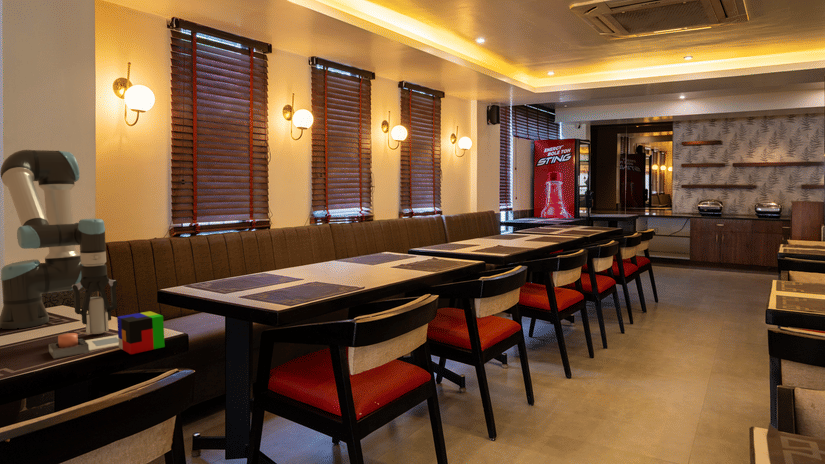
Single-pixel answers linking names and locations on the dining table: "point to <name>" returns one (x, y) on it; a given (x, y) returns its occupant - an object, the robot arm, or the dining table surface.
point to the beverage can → (96, 315)
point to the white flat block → (103, 342)
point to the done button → (68, 340)
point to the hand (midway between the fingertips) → (97, 331)
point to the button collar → (68, 349)
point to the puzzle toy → (140, 332)
